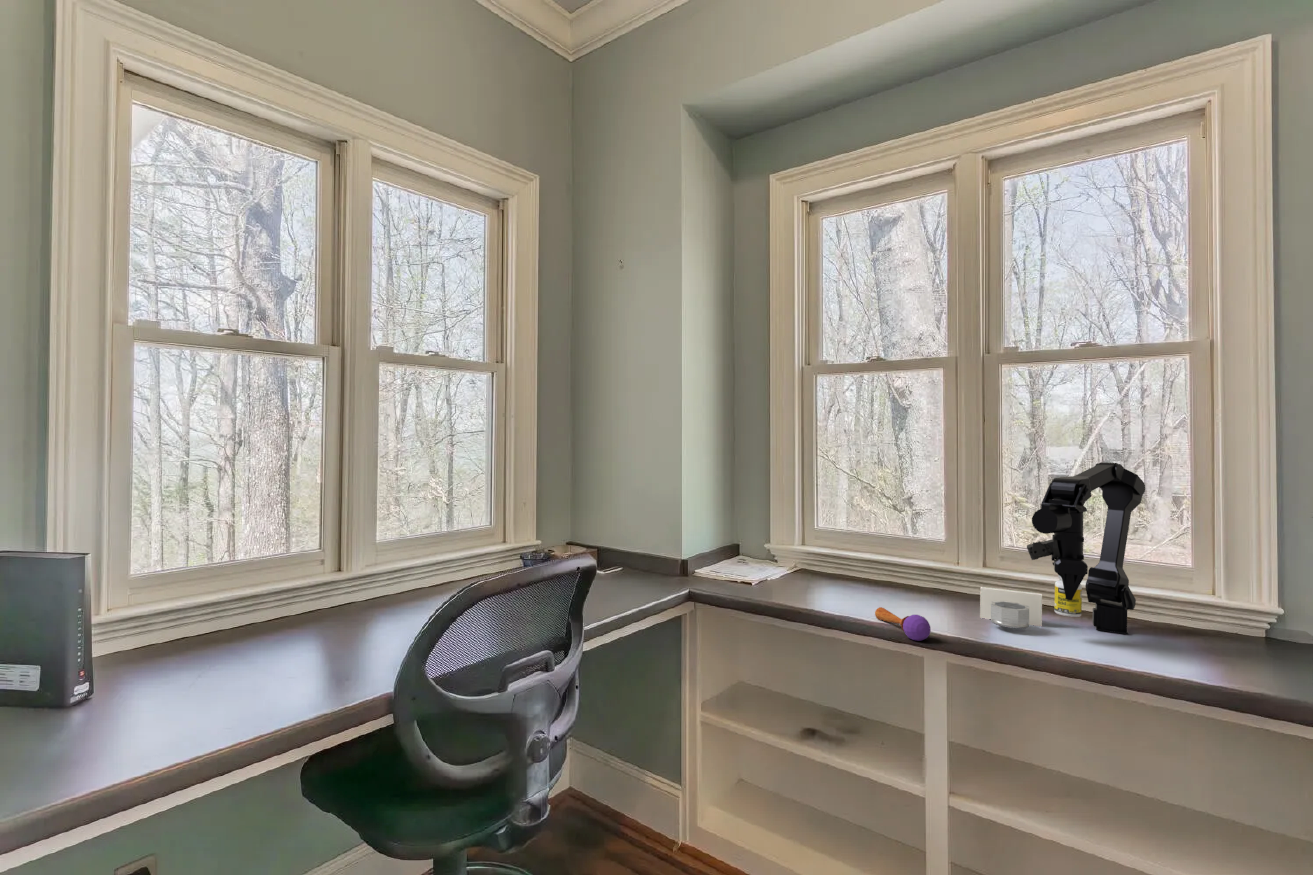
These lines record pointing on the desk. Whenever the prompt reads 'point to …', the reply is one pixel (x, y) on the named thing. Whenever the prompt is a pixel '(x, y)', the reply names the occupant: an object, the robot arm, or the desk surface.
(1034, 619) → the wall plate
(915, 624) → the purple maraca
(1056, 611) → the supplement bottle
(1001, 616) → the cup bracket
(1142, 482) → the robot arm
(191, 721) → the desk surface
